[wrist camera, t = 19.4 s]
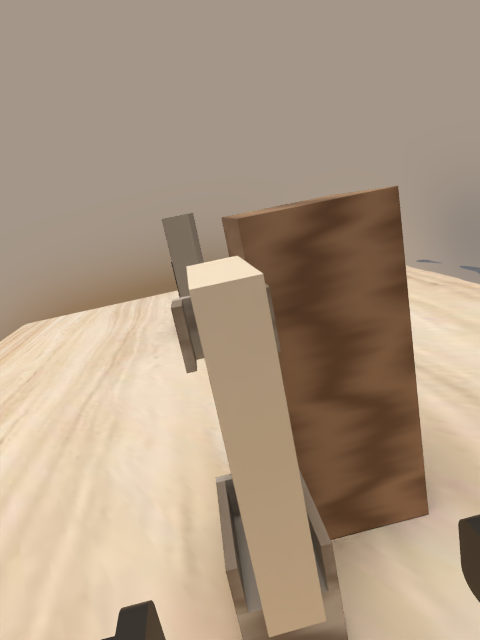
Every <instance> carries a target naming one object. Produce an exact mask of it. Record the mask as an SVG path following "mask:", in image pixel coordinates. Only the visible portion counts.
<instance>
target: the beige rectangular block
mask: <svg viewBox="0 0 480 640" xmlns="http://www.w3.org/2000/svg"><path fill="white" fill-rule="evenodd" d="M186 267H187V277H188V287H189V293H190V297H191V302H192V306H193V310H194V315H195V319H196V323H197V328H198V332H199V336H200V341H201V345H202V349H203V354H204V358H205V362H206V367H207V371H208V375H209V380H210V384H211V388H212V393H213V397H214V401H215V406H216V410H217V414H218V419H219V423H220V427H221V432H222V436H223V440H224V445H225V449H226V453H227V458H228V462H229V466H230V471H231V475H232V479H233V484H234V488H235V492H236V497H237V501H238V505H239V510H240V514H241V518H242V523H243V527H244V531H245V536H246V540H247V544H248V549H249V553H250V557H251V562H252V566H253V570H254V575H255V579H256V583H257V588H258V592H259V596H260V601H261V605H262V609H263V614H264V618H265V622H266V627H267V631H268V635H269V637H273V636H276V635H280V634H283V633H287V632H290V631H294V630H297V629H300V628H304V627H307V626H311V625H314V624H318V623H321V622H325V621H326V616H325V610H324V605H323V599H322V594H321V588H320V583H319V577H318V572H317V566H316V561H315V555H314V550H313V544H312V539H311V533H310V528H309V522H308V517H307V511H306V506H305V500H304V495H303V489H302V484H301V479H300V473H299V468H298V462H297V457H296V451H295V446H294V440H293V435H292V429H291V424H290V418H289V413H288V407H287V402H286V396H285V391H284V385H283V380H282V374H281V369H280V363H279V358H278V352H277V347H276V341H275V336H274V330H273V325H272V319H271V314H270V308H269V303H268V297H267V292H266V286H265V281H264V275H263V273H261V272H260V271H259V270H257V269H256V268H254V267H253V266H251V265H250V264H249V263H247V262H246V261H244V260H243V259H242V258H240V257H239V256H233V257H229V258H224V259H219V260H215V261H210V262H205V263H200V264H196V265H191V266H186Z"/></svg>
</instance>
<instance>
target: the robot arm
mask: <svg viewBox="0 0 480 640" xmlns="http://www.w3.org/2000/svg"><path fill="white" fill-rule="evenodd" d="M458 526H459V540H460V554H461V566H462V571H463V574H464V577H465V579H466V582H467V584H468V586H469V588H470V589H471V591H472V593H473V594H474V595H475V597H476V598H477V599H478V601H479V602H480V515H476V516H472V517H469V518H465V519H461V520H460V521H459V524H458ZM102 640H166V639H165V636H164V633H163V630H162V627H161V624H160V621H159V618H158V614H157V611H156V608H155V605H154V603H153V601H152V600H150V601H146V602H143V603H139V604H135V605H131V606H127V607H124V608H121V610H120V612H119V616H118V622H117V628H116V634H115V636H113V637H110V638H106V639H102Z"/></svg>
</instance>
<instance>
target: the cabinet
mask: <svg viewBox="0 0 480 640" xmlns="http://www.w3.org/2000/svg"><path fill="white" fill-rule="evenodd" d="M222 222H223V227H224V232H225V237H226V242H227V247H228V252H229V257H233V256H239V257H240V258H242V259H243V260H244V261H246V262H247V263H249V264H250V265H251V266H253V267H254V268H256V269H257V270H259V271H260V272H261V273H263V275H264V281H265V286H266V292H267V297H268V303H269V308H270V314H271V319H272V325H273V330H274V336H275V341H276V347H277V352H278V358H279V363H280V369H281V374H282V380H283V385H284V391H285V396H286V402H287V407H288V413H289V418H290V424H291V429H292V435H293V440H294V446H295V451H296V457H297V462H298V468H299V473H300V479H301V484H302V489H303V495H304V500H305V506H306V511H307V517H308V522H309V528H310V533H311V539H312V544H313V550H314V555H315V561H316V566H317V572H318V577H319V583H320V588H321V594H322V599H323V605H324V610H325V616H326V621H325V622H321V623H318V624H314V625H311V626H307V627H304V628H300V629H297V630H294V631H290V632H287V633H283V634H280V635H276V636H273V637H269V635H268V631H267V627H266V622H265V618H264V614H263V609H262V605H261V601H260V596H259V592H258V588H257V583H256V579H255V575H254V570H253V566H252V562H251V557H250V553H249V549H248V544H247V540H246V536H245V531H244V527H243V523H242V518H241V514H240V510H239V505H238V501H237V497H236V492H235V488H234V484H233V479H232V475H231V474H228V475H224V476H220V477H216V484H217V494H218V503H219V512H220V521H221V531H222V540H223V549H224V558H225V567H226V574H227V578H228V581H229V585H230V589H231V593H232V597H233V601H234V605H235V609H236V613H237V617H238V621H239V625H240V629H241V633H242V637H243V640H348V636H347V630H346V624H345V618H344V612H343V607H342V601H341V595H340V589H339V583H338V577H337V571H336V565H335V559H334V553H333V547H332V542H331V539H334V538H338V537H342V536H346V535H350V534H354V533H357V532H361V531H365V530H369V529H373V528H377V527H380V526H384V525H388V524H392V523H396V522H400V521H403V520H407V519H411V518H415V517H419V516H423V515H426V514H428V503H427V493H426V482H425V471H424V460H423V449H422V439H421V428H420V417H419V406H418V396H417V385H416V374H415V363H414V352H413V342H412V331H411V320H410V309H409V299H408V288H407V277H406V266H405V255H404V245H403V234H402V223H401V213H400V202H399V191H398V186H394V187H386V188H380V189H372V190H365V191H357V192H350V193H343V194H336V195H330V196H325V197H320V198H315V199H310V200H305V201H300V202H296V203H291V204H286V205H281V206H276V207H271V208H266V209H262V210H257V211H251V212H246V213H242V214H237V215H232V216H227V217H222ZM171 310H172V314H173V318H174V323H175V327H176V331H177V335H178V339H179V343H180V347H181V351H182V355H183V359H184V363H185V367H186V372H187V373H190V372H195V371H197V363H196V360H198V359H202V358H204V354H203V349H202V345H201V341H200V336H199V332H198V328H197V323H196V319H195V315H194V310H193V306H192V302H191V297H190V296H185V297H181V298H176V299H172V305H171Z"/></svg>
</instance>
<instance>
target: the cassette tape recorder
mask: <svg viewBox="0 0 480 640" xmlns="http://www.w3.org/2000/svg"><path fill="white" fill-rule="evenodd" d="M162 222H163V227H164V231H165V236H166V240H167V243H168V248H169V252H170V256H171V260H172V262H171V263H172V267H173V271H174V275H175V280H176V284H177V288H178V292H179V296H180V298H181V297H185V296H190V293H189V287H188V277H187V267H186V266H191V265H196V264H200V263H204V262H203V257H202V252H201V248H200V243H199V239H198V234H197V230H196V225H195V220H194V216H193V213H190V214H185V215H180V216H175V217H170V218H165V219H162Z"/></svg>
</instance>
